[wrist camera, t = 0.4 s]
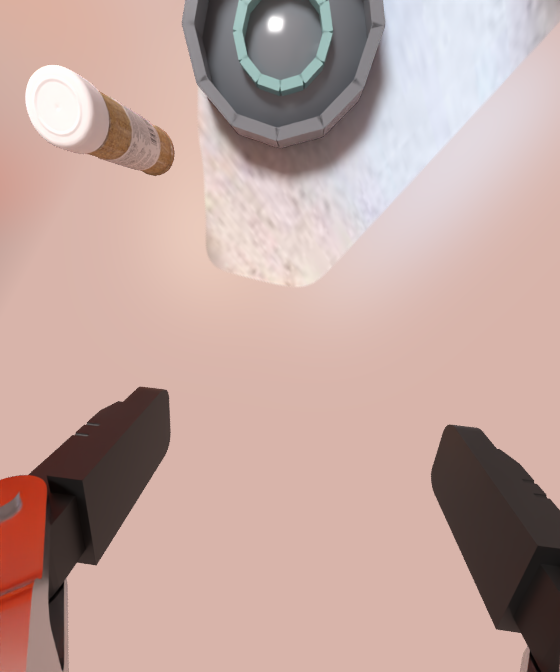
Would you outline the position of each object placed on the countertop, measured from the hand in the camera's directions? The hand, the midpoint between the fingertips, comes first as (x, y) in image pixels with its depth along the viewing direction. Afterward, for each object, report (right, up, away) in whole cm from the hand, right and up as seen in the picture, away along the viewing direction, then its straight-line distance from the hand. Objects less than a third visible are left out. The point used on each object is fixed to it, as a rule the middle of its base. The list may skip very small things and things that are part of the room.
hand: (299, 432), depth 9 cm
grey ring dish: (0, +29, +19) cm, 35 cm away
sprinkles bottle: (-13, +22, +24) cm, 35 cm away
